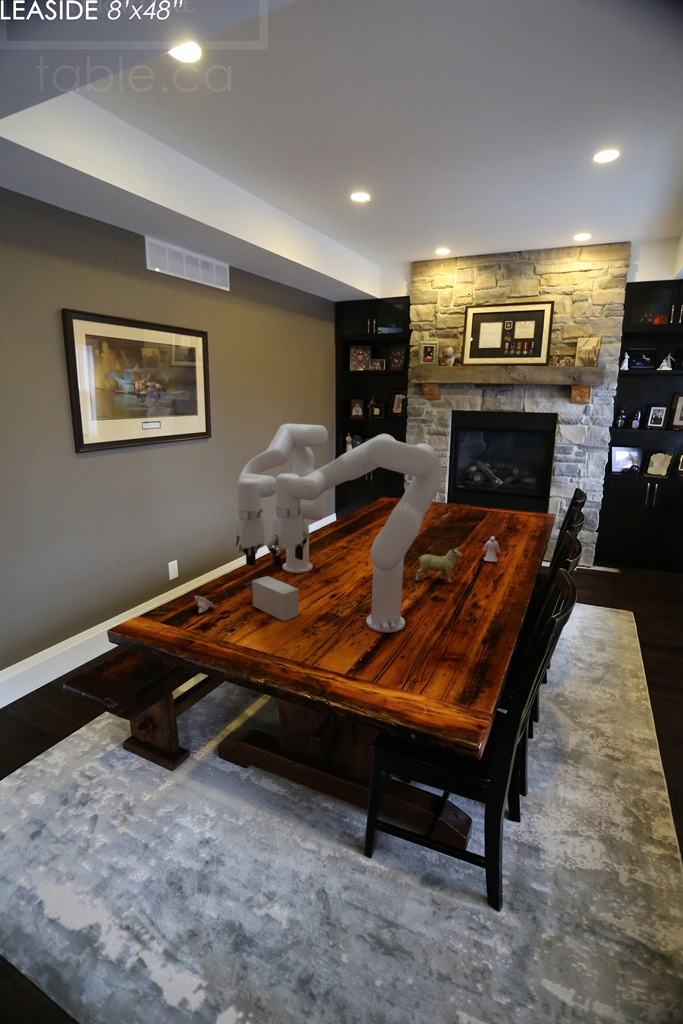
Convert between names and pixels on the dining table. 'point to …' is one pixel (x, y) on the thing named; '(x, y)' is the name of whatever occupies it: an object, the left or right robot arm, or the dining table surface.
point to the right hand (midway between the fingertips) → (288, 562)
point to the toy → (439, 563)
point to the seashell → (203, 604)
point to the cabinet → (275, 598)
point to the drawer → (249, 588)
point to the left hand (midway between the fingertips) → (250, 564)
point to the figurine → (491, 550)
